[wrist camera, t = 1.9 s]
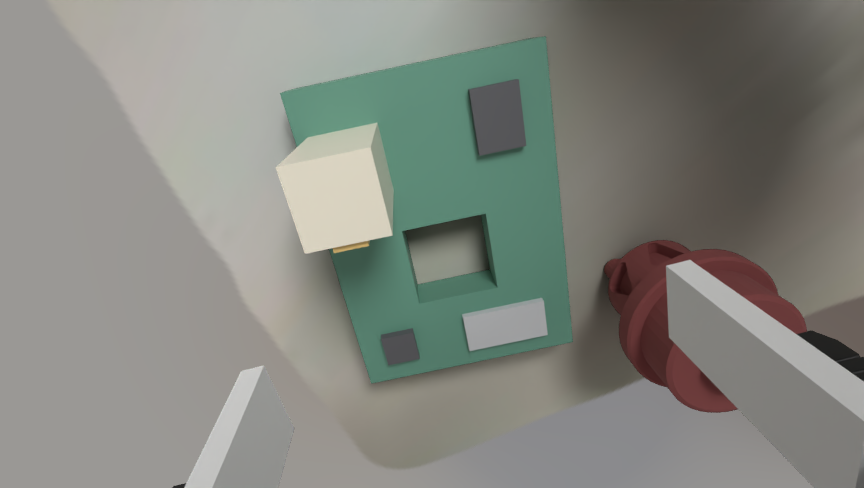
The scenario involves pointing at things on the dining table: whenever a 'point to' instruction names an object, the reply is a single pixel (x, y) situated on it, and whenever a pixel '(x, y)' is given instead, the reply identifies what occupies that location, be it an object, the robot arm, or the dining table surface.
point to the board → (454, 206)
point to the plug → (339, 189)
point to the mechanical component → (648, 314)
